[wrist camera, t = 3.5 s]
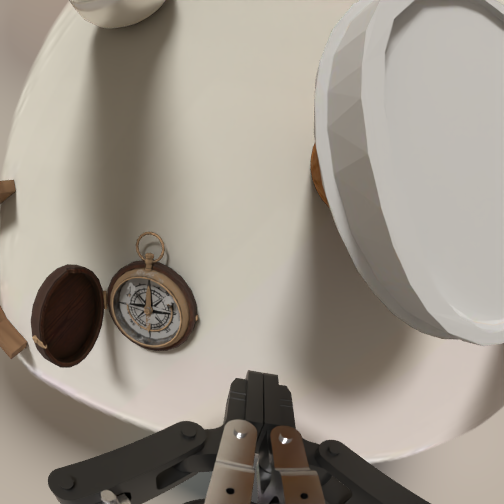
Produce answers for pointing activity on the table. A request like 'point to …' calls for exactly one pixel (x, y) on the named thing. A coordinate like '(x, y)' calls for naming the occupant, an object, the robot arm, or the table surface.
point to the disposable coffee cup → (418, 158)
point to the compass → (112, 309)
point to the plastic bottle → (116, 11)
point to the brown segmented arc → (3, 330)
